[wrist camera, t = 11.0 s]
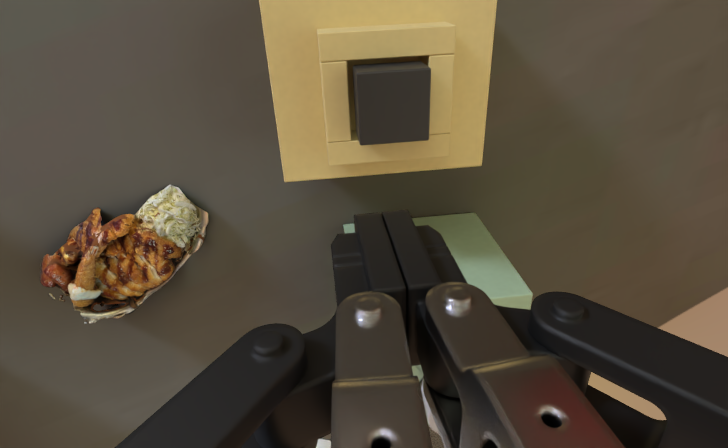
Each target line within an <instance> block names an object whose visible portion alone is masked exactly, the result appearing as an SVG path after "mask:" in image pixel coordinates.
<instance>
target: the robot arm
mask: <svg viewBox="0 0 728 448" xmlns="http://www.w3.org/2000/svg"><path fill="white" fill-rule="evenodd" d="M354 227H355V232H354V233H344V234H337V236H336V237H335V239H334V241H333V242H332V244H331V250H332V260H333V270H334V281H335V291H336V300H337V310H336V313H335V315H334V316H333V317H332V319H331V320H330V321H329V322H328V323H326V324H325V325H323V326H322V327H320V328H318V329H316V330H314V331H311V332H308V333H306V334H303V335H302V334H301V332H300V331H299V330H297V329H296V328H294V327H292V326H289V325H286V324H268V325H263V326H260V327H257V328H255V329H253V330H251V331H249V332H248V333H246V334H245V335H244V336H243V337H241V338H240V339H239V340H238V341H237V342H236V343H234V344H233V345H232V346H231V347H230V348H229V349H228V350H226V351H225V352H224V353H223V354H222V355H221V356H220V357H218V358H217V359H216V360H215V361H214V362H213V363H212V364H210V365H209V366H208V367H207V368H206V369H205V370H203V371H202V372H201V373H200V374H199V375H198V376H197V377H195V378H194V379H193V380H192V381H191V382H190V383H189V384H187V385H186V386H185V387H184V388H183V389H182V390H181V391H179V392H178V393H177V394H176V395H175V396H174V397H172V398H171V399H170V400H169V401H168V402H167V403H166V404H164V405H163V406H162V407H161V408H160V409H159V410H158V411H156V412H155V413H154V414H153V415H152V416H151V417H150V418H148V419H147V420H146V421H145V422H144V423H143V424H141V425H140V426H139V427H138V428H137V429H136V430H135V431H133V432H132V433H131V434H130V435H129V436H128V437H127V438H125V439H124V440H123V441H122V442H121V443H120V444H119V445H117V446H116V447H115V448H316V446H317V443H318V439H320V438H322V437H324V436H326V435H328V434H330V433H331V448H433V447H432V442H431V437H430V432H429V427H428V422H427V417H426V412H425V407H424V402H423V397H422V392H421V387H420V382H419V379H418V376H413V371H412V366H417V365H421V368H422V371H423V392H424V396H425V398H426V401H427V403H428V406H429V408H430V411H431V413H432V416H433V419H434V421H435V424H436V426H437V429H438V431H439V434H440V436H441V439H442V442H443V444H444V447H445V448H728V357H726V356H724V355H722V354H719V353H717V352H714V351H712V350H709V349H707V348H704V347H702V346H700V345H697V344H695V343H692V342H690V341H687V340H685V339H683V338H680V337H678V336H675V335H673V334H670V333H668V332H666V331H663V330H661V329H658V328H656V327H653V326H651V325H649V324H646V323H644V322H641V321H639V320H636V319H634V318H632V317H629V316H627V315H624V314H622V313H619V312H617V311H615V310H612V309H610V308H607V307H605V306H602V305H600V304H598V303H595V302H593V301H590V300H588V299H585V298H583V297H581V296H578V295H575V294H571V293H566V292H548V293H544V294H541V295H539V296H538V297H536V298H535V299H534V301H533V302H532V306H531V310H529V309H520V308H510V307H503V306H498V305H495V304H493V302H492V301H491V300H490V298H489V297H488V295H487V294H486V293H485V292H484V291H482V290H481V289H479V288H478V287H476V286H473V285H471V284H468V283H467V281H466V279H465V278H464V276H463V274H462V272H461V270H460V268H459V267H458V265H457V263H456V261H455V259H454V257H453V256H452V255H451V252H450V250H449V248H448V246H446V243H445V241H444V239H443V237H442V235H441V234H440V233H439V232H438V231H436V230H435V229H433V228H432V227H430V226H429V225H422V226H415V224H414V222H413V220H412V218H411V215H410V213H409V211H408V210H399V211H388V212H382V213H380V212H379V213H369V214H359V215H354ZM591 372H593V373H595V374H597V375H599V376H601V377H603V378H605V379H607V380H609V381H611V382H613V383H614V384H616V385H618V386H620V387H622V388H624V389H626V390H628V391H630V392H632V393H634V394H636V395H638V396H640V397H642V398H644V399H646V400H648V401H650V402H652V403H653V404H655V405H656V406H657V407H658V408H659V409H661V411H662V412H663V413H664V415H665V417H666V419H667V420H663V421H662V420H656V419H652V418H650V417H648V416H646V415H644V414H642V413H641V412H639V411H637V410H635V409H633V408H631V407H629V406H627V405H625V404H624V403H622V402H620V401H618V400H616V399H614V398H612V397H610V396H608V395H607V394H605V393H603V392H601V391H599V390H597V389H595V388H593V387H591V386H590V385H588V381H589V378H590V374H591Z"/></svg>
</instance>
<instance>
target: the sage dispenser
mask: <svg viewBox="0 0 728 448" xmlns="http://www.w3.org/2000/svg"><path fill="white" fill-rule="evenodd" d="M412 220H413V222H414V224H415V226H422V225H429V226H430V227H432V228H433V229H435V230H436V231H438V232H439V233H440V234H441V235H442V237H443V239H444V241H445V243H446V246H448V248H449V250H450V252H451V255H452V256H453V257H454V259H455V261H456V263H457V265H458V267H459V268H460V270H461V272H462V274H463V276H464V278H465V279H466V281H467V283H468V284H471V285H473V286H476V287H478V288H479V289H481V290H482V291H484V292H485V293H486V294H487V295H488V297H489V298H490V300H491V301H492V302H493V304H495V305H498V306H503V307H510V308H520V309H529V310H530V308H531V302H532V297H533V293H532V292H531V290H530V289H529V288H528V286H527V285H526V283H525V282H524V281H523V279H522V278H521V276H520V275H519V274H518V272H517V271H516V269H515V268H514V267H513V265H512V264H511V262H510V261H509V260H508V258H507V257H506V255H505V254H504V253H503V251H502V250H501V248H500V247H499V246H498V244H497V243H496V241H495V240H494V238H493V237H492V236H491V234H490V233H489V231H488V230H487V229H486V227H485V226H484V224H483V223H482V222H481V220H480V219H479V217H478V216H477V215H476V213H463V214H452V215H441V216H430V217H419V218H412ZM343 230H344V233H354V232H355V227H354V223H353V224H344V225H343ZM412 371H413V376H418V379H419V382H421V380H422V378H423V371H422V368H421V365H417V366H412ZM427 422H428V421H427ZM428 426H429V424H428Z"/></svg>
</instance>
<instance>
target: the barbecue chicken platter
mask: <svg viewBox="0 0 728 448" xmlns="http://www.w3.org/2000/svg"><path fill="white" fill-rule="evenodd" d="M100 210H101V209H99V208H95V209H94V210H93V211H92V213H91V214H90V216H89V217H88V219H87V220H86V221H85V222H84V221H83V222H82V223H79V224H78V226H77V227H74V228H73V230H72V231H71V232H70V234H69V236H68V237H69V238H68V239H67V241H68V242H67V243H66V244H65V245H63V246H62V247H61V248H60V249H58V251H57V252H55V254H54V255H53V256H50V257H49V255H48V254H47V255H45V256H44V257H43V259H42V261H41V267H40V281H41V284H42V285H43V286H45V287H55V286H56V287H58V288H60V289H61V290H62V292H63V293H64V295H66V296H70V297H71V300H72V303H73V306H74V310H78V311H80V312H82V313H80V314H81V316H82V317H83V318H84V320H89V323H95V322H96V321H97V320H100V319H105V318H111V317H113V318H120V317H122V316H124V314H125V313H126V314H130V313H132V312H133V311H135V310H136V309H137V308H138V307H139V306H140V305H141V304H142V303H143V302H144V301H145V300H146V299H147V298H148V297H149V296H150V295H151V294H152V293H154V292H156V291H157V290H159V289H160V288H162V286H164V285H165V284H166V283H167V282H168V281H169V280H170V279H171V278H172V277H173V276H174V274H175V273H176V271H178V270H179V268H180V267H182V266H183V265H184V263H185V261H186V260H187V259H188V258H189V257H190V256H191V255H192V254H193V253H194V252H196V251H197V250H198V249H199V248H200V247H201V246H202V245H203V243H204V240H205V236H206V230H205V229H206V226H207V224H208V222H209V220H208V213H207V212H205V211H204V210H202V209H201V208H199V207H197V206H196V205H195V204H193V203H192V202H191V201H189V200H188V199H187V198H186V196H185V195H184V194H183V193H182V191H181V190H180V189H179V188H178V187H174V186H171V185H169V186H167V187H166V188H165V189H164V190H161V191H160V192H159V193H158V194H156V195H153V196H151V197H150V198H149V199H148V200H147V202H146V203H145V204H144V205H143V206H142V207H141V208H140V210H139V211H138V212H137V213H136V214H135V215H132V214H124V215H120V216H118V217H116V218H114V219H113V220H111V221H110V222H108V223H107V224H105V225H103V226H101V223H100V222H101V220H102V218H101V216H100ZM48 295H49V296H51V298H52V299H53V300H55V297H53V295H52V294H51V293H49V294H48ZM60 297H61V298H60V299H59V300H60V301H62V302H65V300H63V299H62V297H63V295H60ZM96 304H100V306H104V305H105V304H119V305H117V306H112V307H111V308H108V309H107V310H102V311H95V310H94V309H93V306H94V305H96ZM86 323H87V322H84V324H86Z"/></svg>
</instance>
